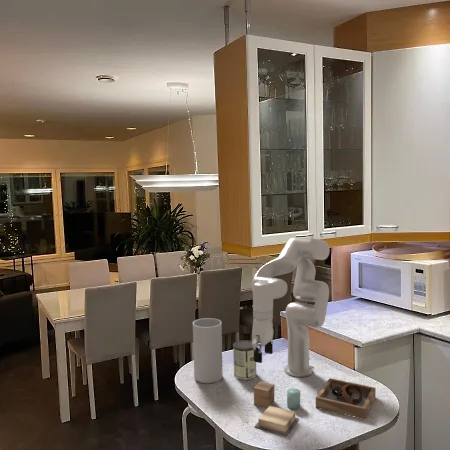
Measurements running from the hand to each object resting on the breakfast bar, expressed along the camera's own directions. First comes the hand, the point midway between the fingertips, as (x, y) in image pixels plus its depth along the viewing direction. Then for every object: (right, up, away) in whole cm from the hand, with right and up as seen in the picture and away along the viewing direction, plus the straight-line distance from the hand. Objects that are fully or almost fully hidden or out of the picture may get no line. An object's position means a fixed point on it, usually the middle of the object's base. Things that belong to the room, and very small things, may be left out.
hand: (263, 357), depth 171 cm
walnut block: (0, -18, +2) cm, 19 cm away
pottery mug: (+33, -18, +2) cm, 37 cm away
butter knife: (-12, -19, +1) cm, 23 cm away
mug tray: (+32, -18, +1) cm, 37 cm away
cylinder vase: (-22, -17, +25) cm, 37 cm away
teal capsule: (+12, -18, -1) cm, 22 cm away
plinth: (+4, -20, -12) cm, 24 cm away
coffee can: (-6, -16, +27) cm, 32 cm away
